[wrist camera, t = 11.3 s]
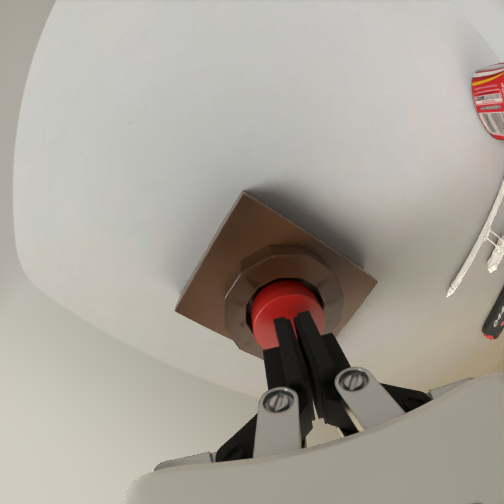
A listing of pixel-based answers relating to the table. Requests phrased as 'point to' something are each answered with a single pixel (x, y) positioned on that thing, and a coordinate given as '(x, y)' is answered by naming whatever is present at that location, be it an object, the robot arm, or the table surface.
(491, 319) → the rugged portable drive
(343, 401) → the robot arm
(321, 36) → the table surface
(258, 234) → the button block
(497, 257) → the picture light
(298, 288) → the button
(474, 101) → the soda can
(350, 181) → the table surface
